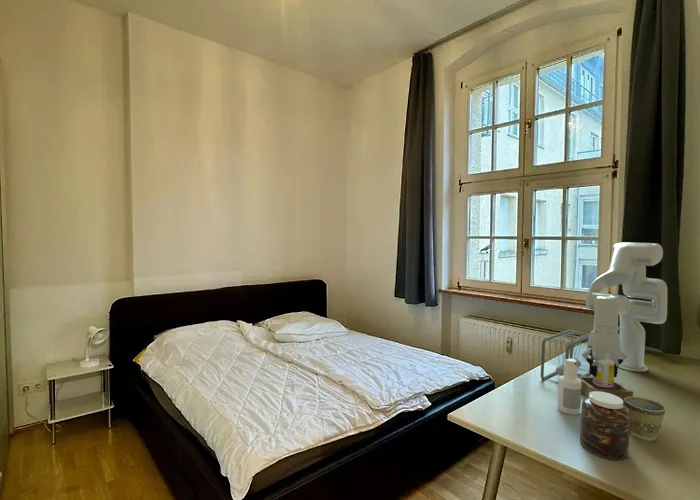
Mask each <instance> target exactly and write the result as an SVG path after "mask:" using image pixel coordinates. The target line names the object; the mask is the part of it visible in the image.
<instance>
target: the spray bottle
mask: <svg viewBox="0 0 700 500" xmlns="http://www.w3.org/2000/svg"><path fill="white" fill-rule="evenodd" d="M574 359H575V358H572V359H570V357H569V359H565V358H564V364H565V365H564V375H563V376H560V375H559V377H558V383H559V384H558V387H557V389H558V390H557V409H558V411H559V412H561V413H563V414H566V415H570V416H577V415H579V414H580V413H581V404H582V402H581V399H582V394H581V380H580V379H578V378H577V376H578V369H577V365H576V364H577V361H576V360H574Z"/></svg>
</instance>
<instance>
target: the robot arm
mask: <svg viewBox="0 0 700 500" xmlns="http://www.w3.org/2000/svg"><path fill="white" fill-rule="evenodd" d="M663 255H664V250H663V246H662V245H661V244H659V243H657V242H656V243H654V242H626V241H625V242H618V243H617V242H616V243H614V244H613V248H612V256H611V259H610V262H609V265H608V269H607V271H606V272H605V273H602V274H601V275H600V276H598V277H597V278H596V279H594V280H593V281H592V282H591V284H590V286H589V287H588V288H589V289H588V292H587V294H586V298H585V299H586V300H585V304H586V307H587V308H588V309H589V310H590V311H593V312H594V313H593V329H592V330H591V331H590V332H589V334H590V336H589V335H588V336H589V339H587V340H588V342H587V346H586V347H587V348H586V350H585V351H584V352H582V353H581V356H582V357H583V359H585V361H586V362H587V363H588V365H589V369H588V371H589V372H590V376H592V377H593V376H594V377H596V376H597V366H595V365H596V363H597V361H598V360H602V359H606V358H607V357H606V354H609V355H610V357H608V358H609V359H610V360H614V378H617V377H618V373H619V372H618V368H620V369H622V370H625V371H626V370H627V371H630V372H639V373H640V372H641V373H644V372H647V371H648V370H649V368H648V366H647V365H645V348H646V347H645V345H646V330H645V328H644V326H643V325H642V324H641V323H642V322H643V323H650V324H655V325H661V324H662V325H663V324H665V322H666V321H667V316H668V286H667V283H666V282H665V281H664V280H663V279H660V278H653V277H652V278H650V277H647V276H646V275H647V267H649V266H650V267H653V266H655V265H657V264H658V263H659V264H660V262H661V261H662V259H663V257H664V256H663ZM620 285H622V286H621V287H622V293H623V294H624V295H623V294H615V293H606V292H601V291H602V290H605V289H607V288H610V287H615V286H620ZM628 297H629V298H628ZM631 298H632V299H631ZM640 299H642V300H640ZM647 300H649V301H647Z"/></svg>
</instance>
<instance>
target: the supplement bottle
mask: <svg viewBox="0 0 700 500" xmlns="http://www.w3.org/2000/svg"><path fill="white" fill-rule="evenodd" d="M606 357H607V358H606V359H602V360H598V361H597V363H596V365H595V366H597V376H596V377H594V376H593V375H592V377H593V383H594V384H595V385H597V386H600V387H604V388H611V387H613V386H614V380H615V377H614V360H610V359H609V358H608V357H610V355H609V354H606Z"/></svg>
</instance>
